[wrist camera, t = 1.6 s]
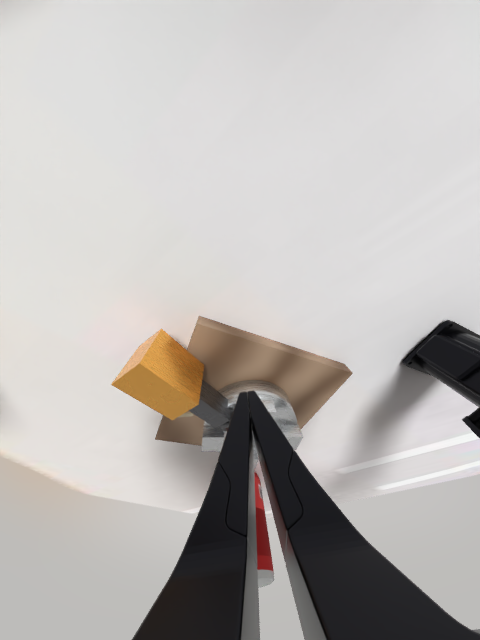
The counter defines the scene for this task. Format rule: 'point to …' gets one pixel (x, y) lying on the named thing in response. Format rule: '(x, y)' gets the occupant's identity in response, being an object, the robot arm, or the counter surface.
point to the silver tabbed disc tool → (197, 391)
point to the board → (255, 374)
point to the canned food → (262, 540)
